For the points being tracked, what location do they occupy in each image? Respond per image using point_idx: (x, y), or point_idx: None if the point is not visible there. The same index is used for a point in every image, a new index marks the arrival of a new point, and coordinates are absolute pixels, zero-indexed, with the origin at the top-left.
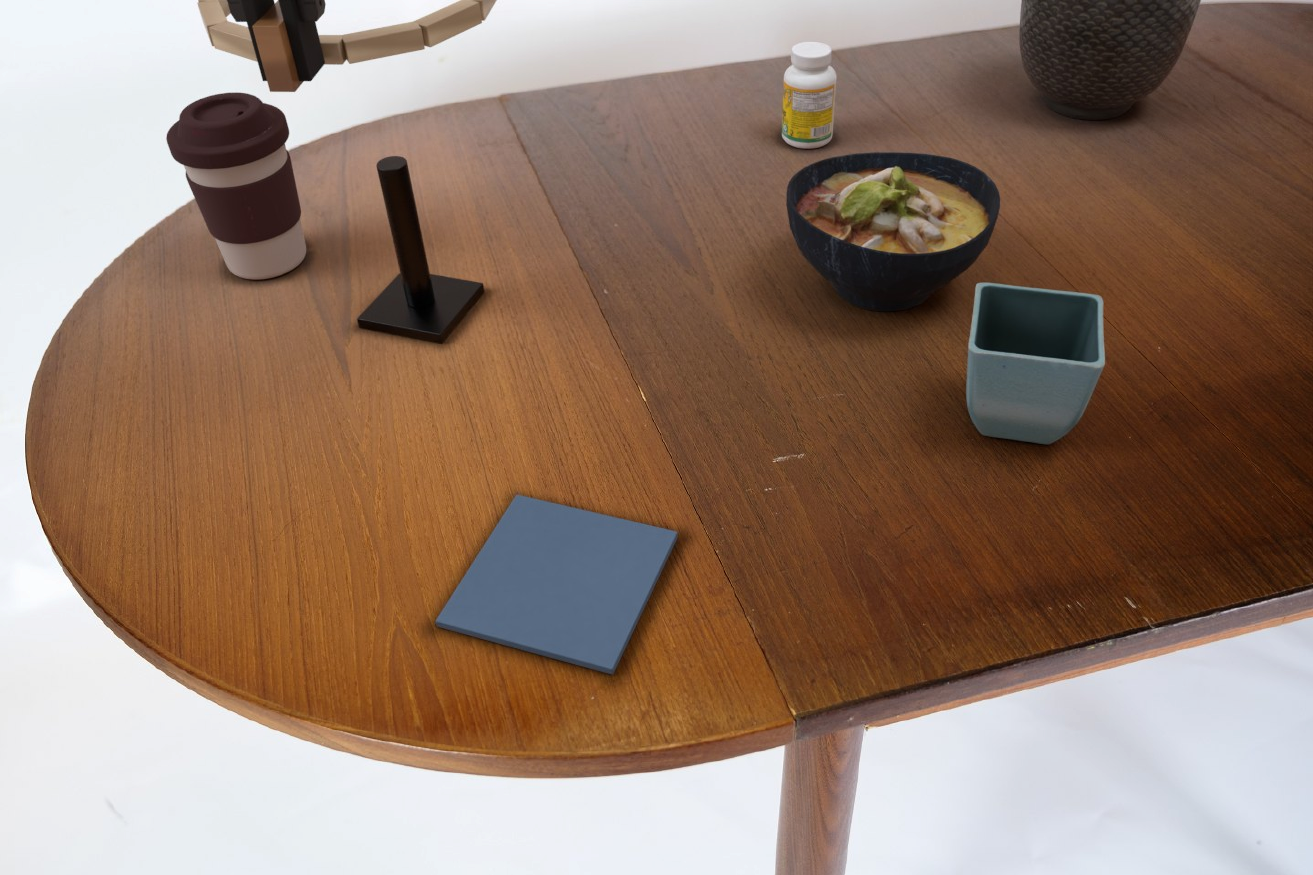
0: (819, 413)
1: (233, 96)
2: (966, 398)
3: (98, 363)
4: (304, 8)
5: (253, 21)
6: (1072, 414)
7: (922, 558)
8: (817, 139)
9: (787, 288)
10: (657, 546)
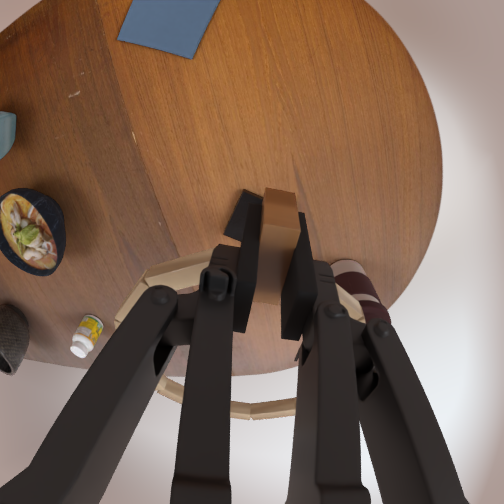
0: (63, 124)
1: None
2: (7, 115)
3: (421, 204)
4: (229, 256)
5: (301, 248)
6: None
7: (39, 45)
8: (86, 317)
9: (80, 216)
10: (125, 29)
